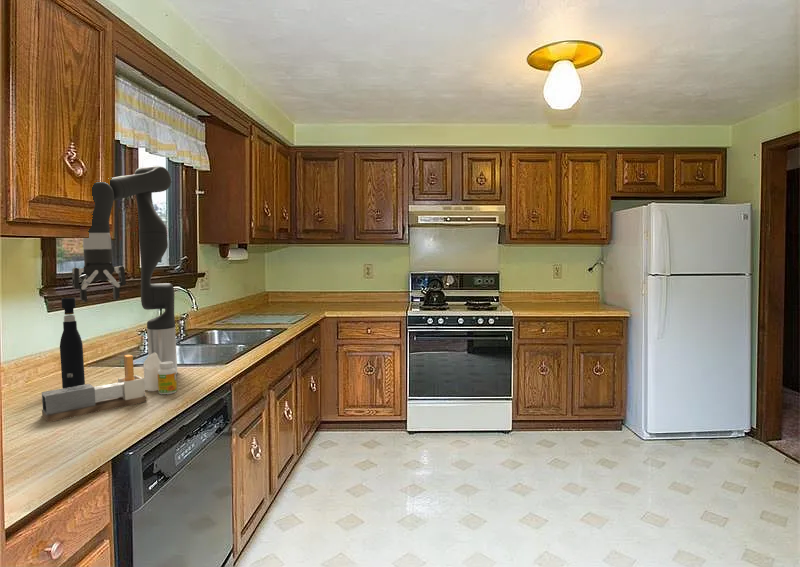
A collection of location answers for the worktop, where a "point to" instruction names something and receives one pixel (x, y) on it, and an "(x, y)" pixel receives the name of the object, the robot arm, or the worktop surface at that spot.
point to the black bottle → (71, 348)
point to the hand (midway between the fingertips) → (100, 300)
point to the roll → (151, 372)
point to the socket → (133, 387)
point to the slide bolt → (116, 388)
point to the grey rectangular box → (68, 399)
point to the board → (95, 408)
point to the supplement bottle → (167, 378)
